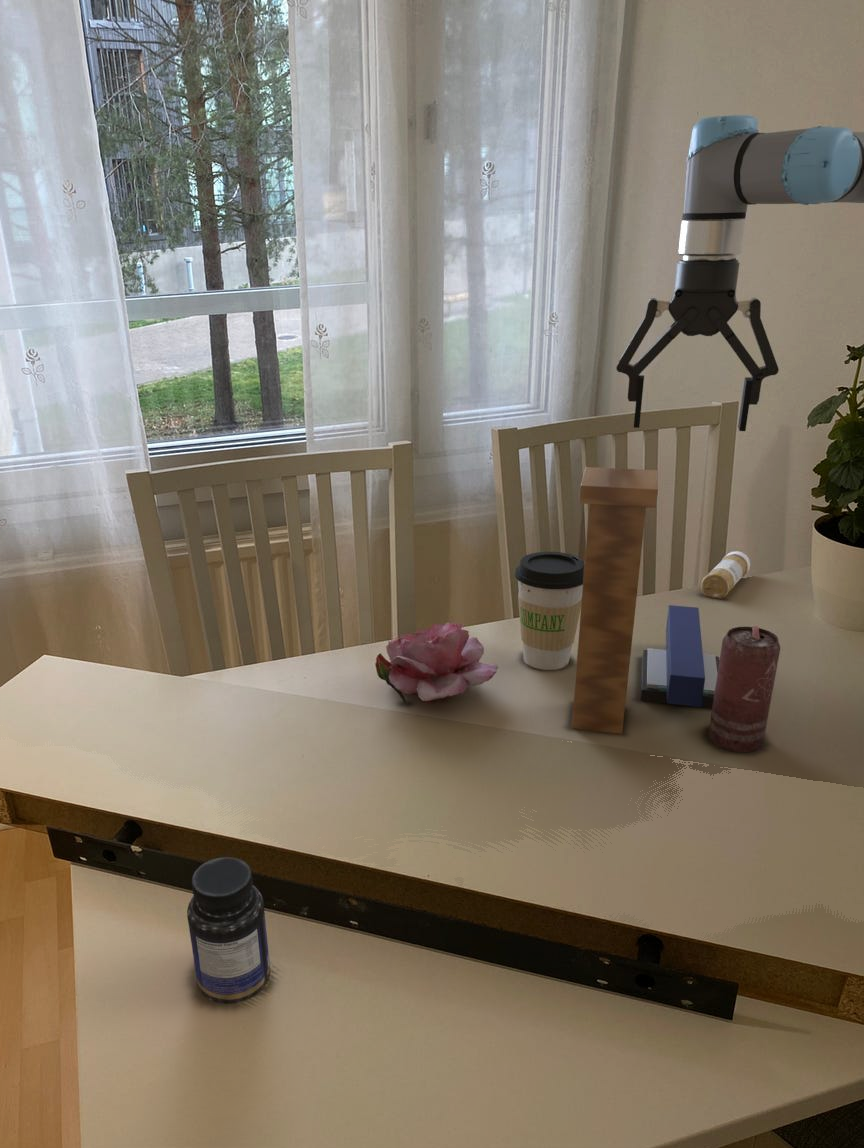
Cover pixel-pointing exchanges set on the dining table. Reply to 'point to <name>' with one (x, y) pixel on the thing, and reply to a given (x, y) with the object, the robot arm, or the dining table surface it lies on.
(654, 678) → the scale
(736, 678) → the can
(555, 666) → the coffee cup
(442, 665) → the flower
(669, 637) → the spaghetti box
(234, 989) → the pill bottle
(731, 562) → the sprinkles bottle
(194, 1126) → the dining table surface
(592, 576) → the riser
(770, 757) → the dining table surface
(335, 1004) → the dining table surface
